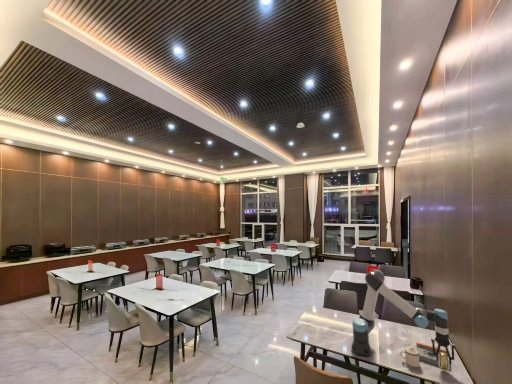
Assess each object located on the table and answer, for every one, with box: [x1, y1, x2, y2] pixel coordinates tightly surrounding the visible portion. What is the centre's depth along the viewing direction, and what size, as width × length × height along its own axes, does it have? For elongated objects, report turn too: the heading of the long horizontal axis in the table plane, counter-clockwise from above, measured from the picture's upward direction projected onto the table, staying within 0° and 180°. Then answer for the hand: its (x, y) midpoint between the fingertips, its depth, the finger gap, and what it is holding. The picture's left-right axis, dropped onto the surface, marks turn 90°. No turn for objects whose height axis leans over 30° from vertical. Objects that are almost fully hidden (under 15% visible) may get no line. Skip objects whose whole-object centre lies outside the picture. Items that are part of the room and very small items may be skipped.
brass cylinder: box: [439, 352, 449, 372], centre depth 165 cm, size 5×5×10 cm
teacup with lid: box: [400, 346, 421, 368], centre depth 174 cm, size 12×9×12 cm
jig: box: [415, 341, 448, 367], centre depth 180 cm, size 20×16×6 cm
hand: (444, 366), depth 165 cm, fingers closed on brass cylinder, 5 cm apart
